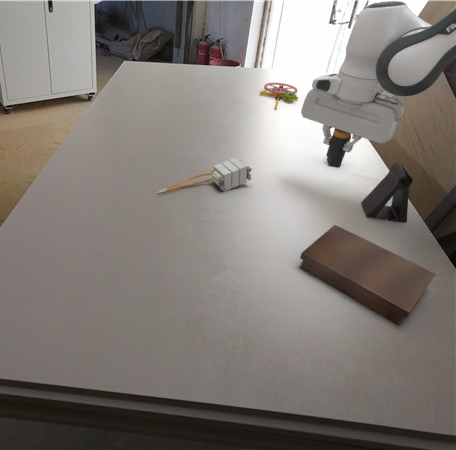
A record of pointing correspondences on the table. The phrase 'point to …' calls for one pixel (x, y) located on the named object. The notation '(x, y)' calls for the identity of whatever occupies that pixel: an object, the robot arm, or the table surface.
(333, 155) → the battery
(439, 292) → the table surface
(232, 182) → the electrical component
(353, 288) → the block
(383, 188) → the phone stand
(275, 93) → the mechanical gear assembly
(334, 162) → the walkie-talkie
